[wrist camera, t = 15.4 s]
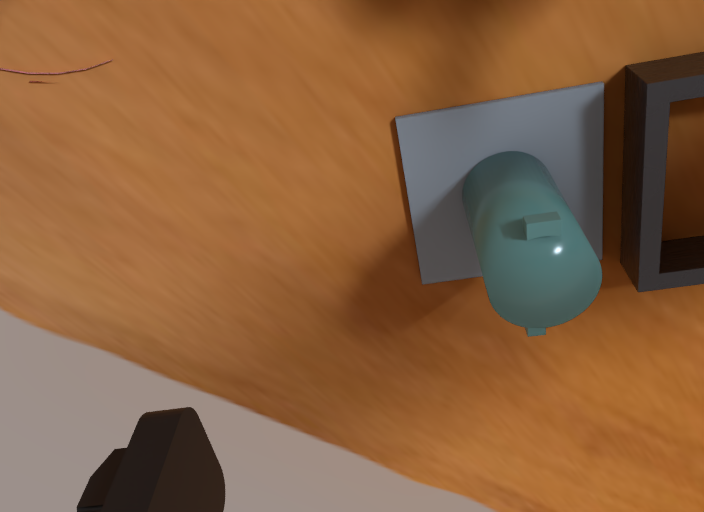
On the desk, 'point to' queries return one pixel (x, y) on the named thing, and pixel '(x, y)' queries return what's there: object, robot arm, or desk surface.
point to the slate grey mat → (491, 138)
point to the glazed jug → (528, 243)
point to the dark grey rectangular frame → (655, 174)
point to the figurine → (45, 73)
